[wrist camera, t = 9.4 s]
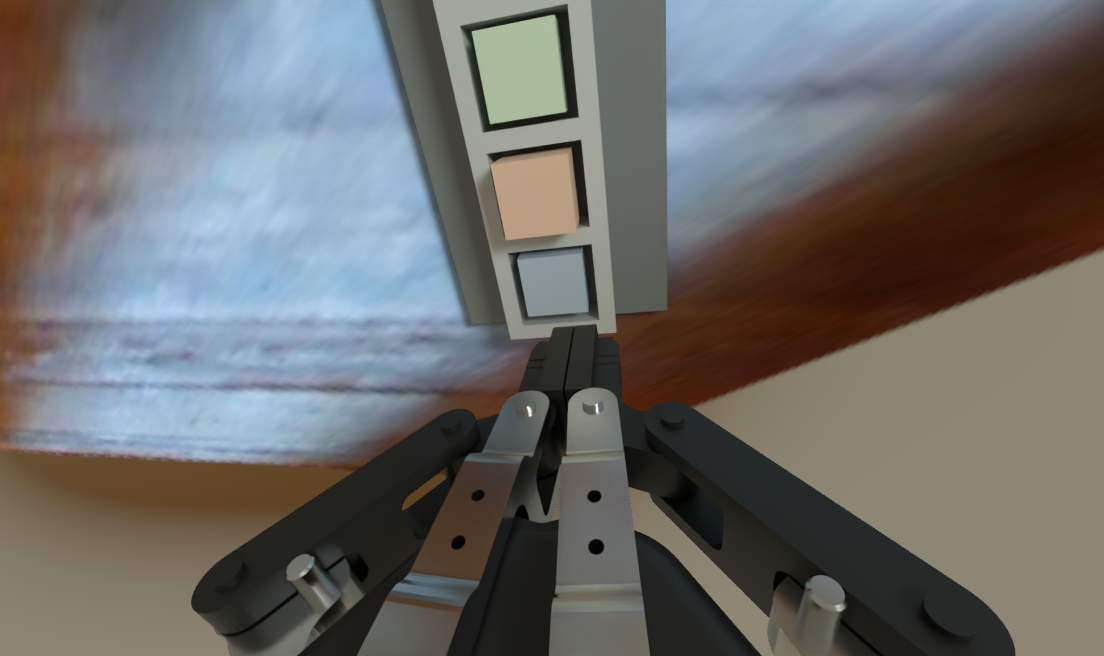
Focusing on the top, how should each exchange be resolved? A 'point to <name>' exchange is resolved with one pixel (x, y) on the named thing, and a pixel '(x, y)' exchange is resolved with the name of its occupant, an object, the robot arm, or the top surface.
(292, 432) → the top surface
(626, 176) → the keypad
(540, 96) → the key sage
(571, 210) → the block
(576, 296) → the key slate
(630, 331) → the top surface
